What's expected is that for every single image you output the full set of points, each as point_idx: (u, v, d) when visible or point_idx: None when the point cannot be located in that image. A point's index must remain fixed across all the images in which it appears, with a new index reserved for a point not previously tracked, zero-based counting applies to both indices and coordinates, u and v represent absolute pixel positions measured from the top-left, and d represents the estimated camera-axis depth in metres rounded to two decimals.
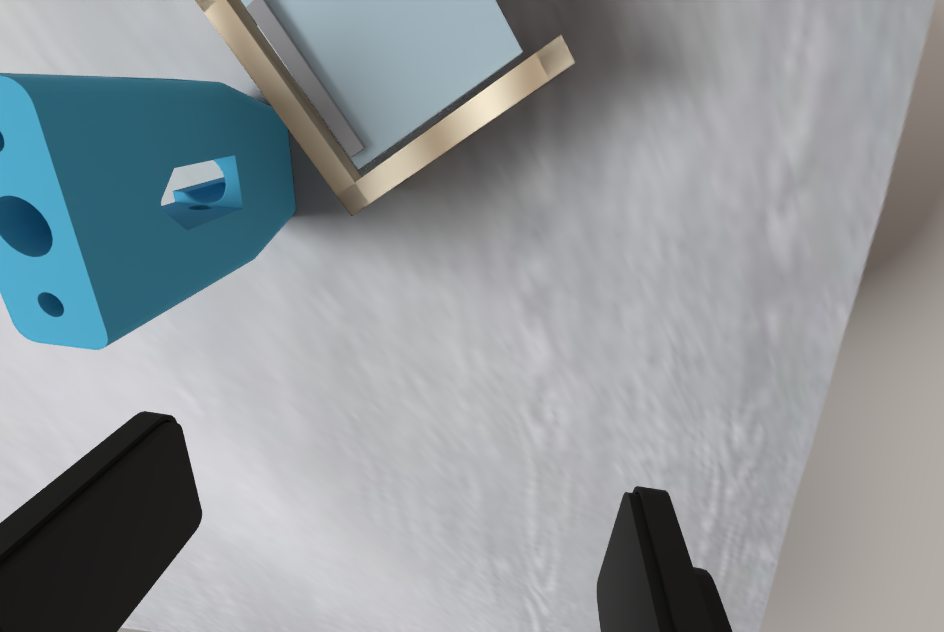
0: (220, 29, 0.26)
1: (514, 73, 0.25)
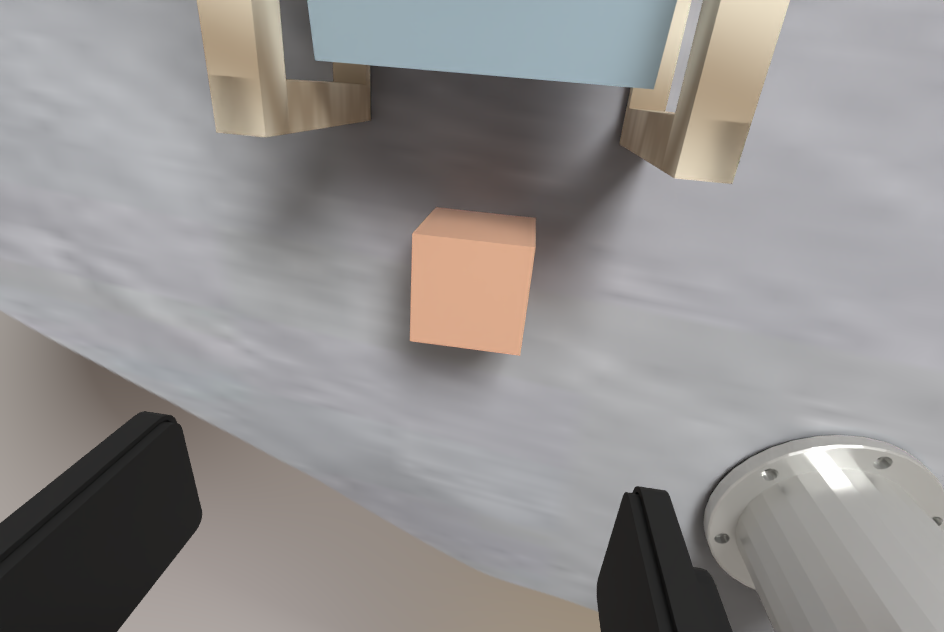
0: None
1: (244, 18, 0.12)
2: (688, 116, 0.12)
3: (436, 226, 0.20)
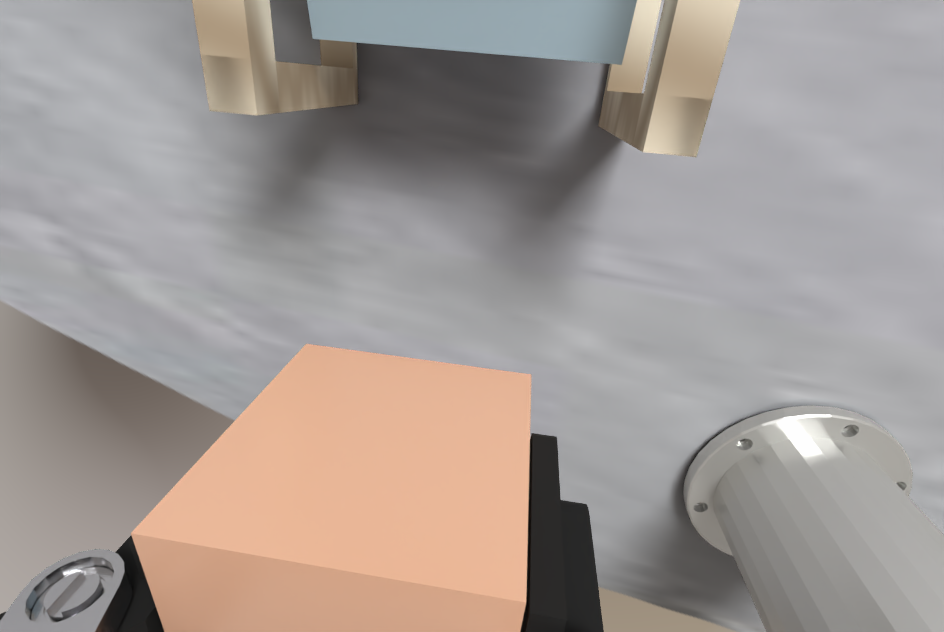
0: None
1: None
2: (654, 93, 0.13)
3: (246, 462, 0.07)
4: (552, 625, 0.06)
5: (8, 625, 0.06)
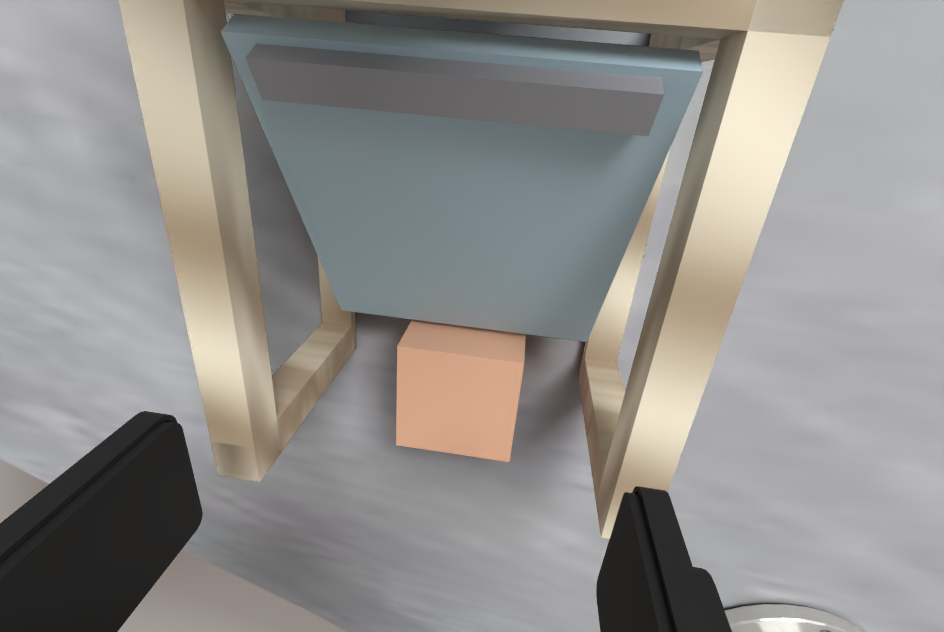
0: None
1: (241, 411, 0.15)
2: (610, 498, 0.15)
3: (412, 421, 0.20)
4: None
5: None
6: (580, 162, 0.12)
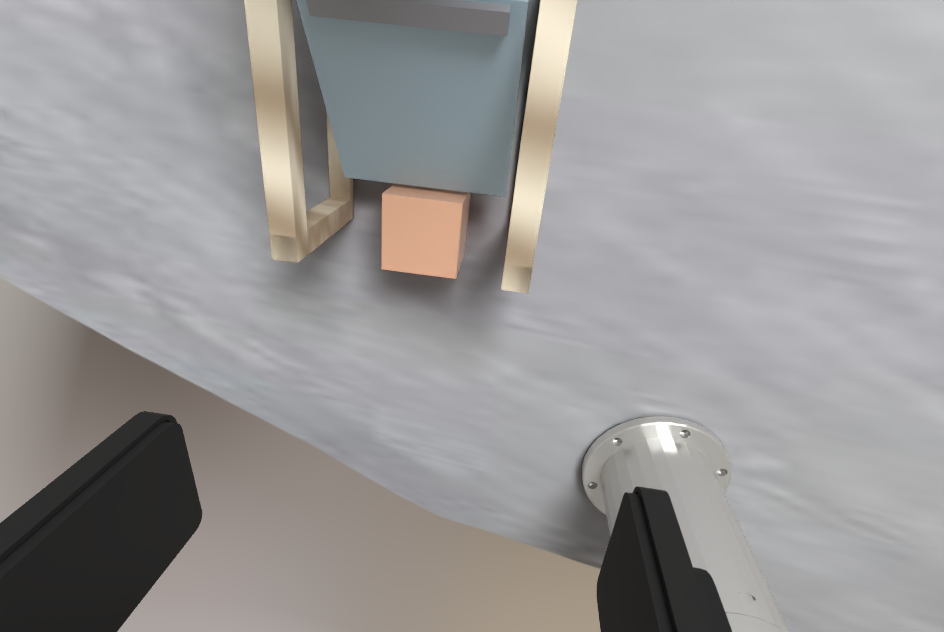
0: None
1: (289, 211, 0.25)
2: None
3: (392, 250, 0.30)
4: None
5: None
6: (479, 56, 0.22)
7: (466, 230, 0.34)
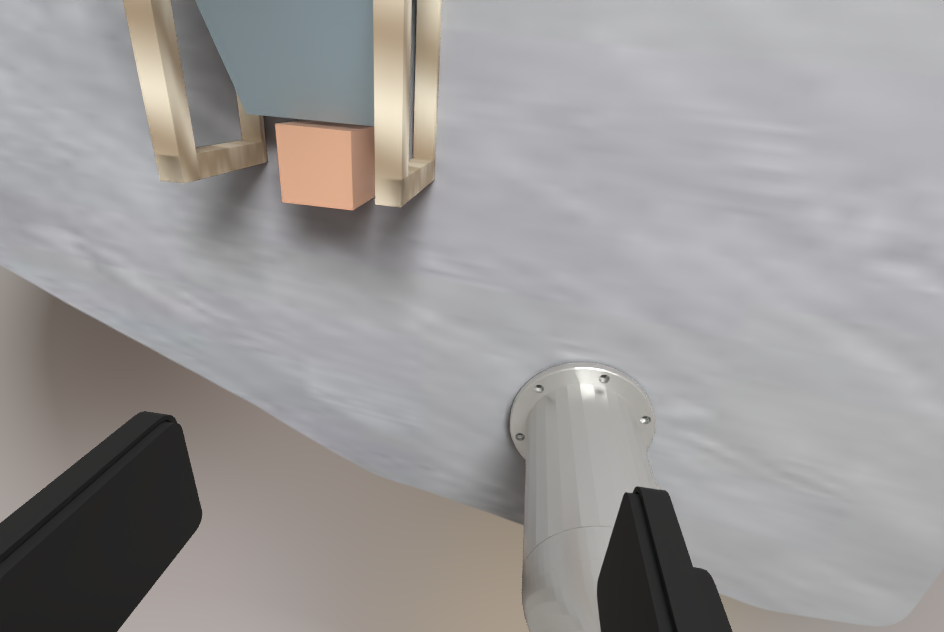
0: None
1: (170, 129, 0.26)
2: None
3: (290, 182, 0.31)
4: None
5: None
6: None
7: (373, 170, 0.35)
